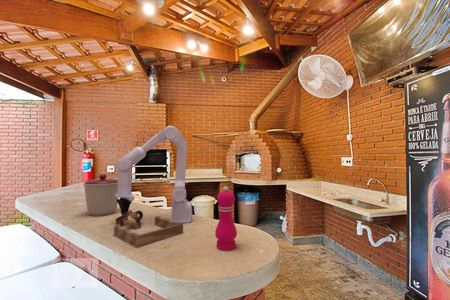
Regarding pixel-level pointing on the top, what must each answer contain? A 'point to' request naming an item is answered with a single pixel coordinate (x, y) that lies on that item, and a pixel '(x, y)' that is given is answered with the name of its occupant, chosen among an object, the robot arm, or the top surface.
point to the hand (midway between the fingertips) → (124, 214)
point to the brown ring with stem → (132, 215)
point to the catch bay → (137, 240)
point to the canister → (101, 195)
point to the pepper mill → (226, 221)
